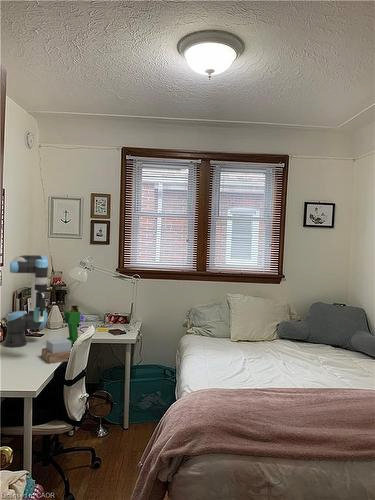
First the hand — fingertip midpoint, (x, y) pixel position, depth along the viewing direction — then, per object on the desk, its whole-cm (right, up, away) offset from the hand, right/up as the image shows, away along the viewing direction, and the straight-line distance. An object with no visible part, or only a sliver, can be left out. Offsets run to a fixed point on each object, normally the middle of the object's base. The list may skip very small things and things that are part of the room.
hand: (39, 320), depth 245 cm
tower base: (+10, -26, +5) cm, 28 cm away
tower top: (+10, -20, +5) cm, 23 cm away
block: (0, 0, 0) cm, 0 cm away
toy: (+13, -25, +30) cm, 42 cm away
